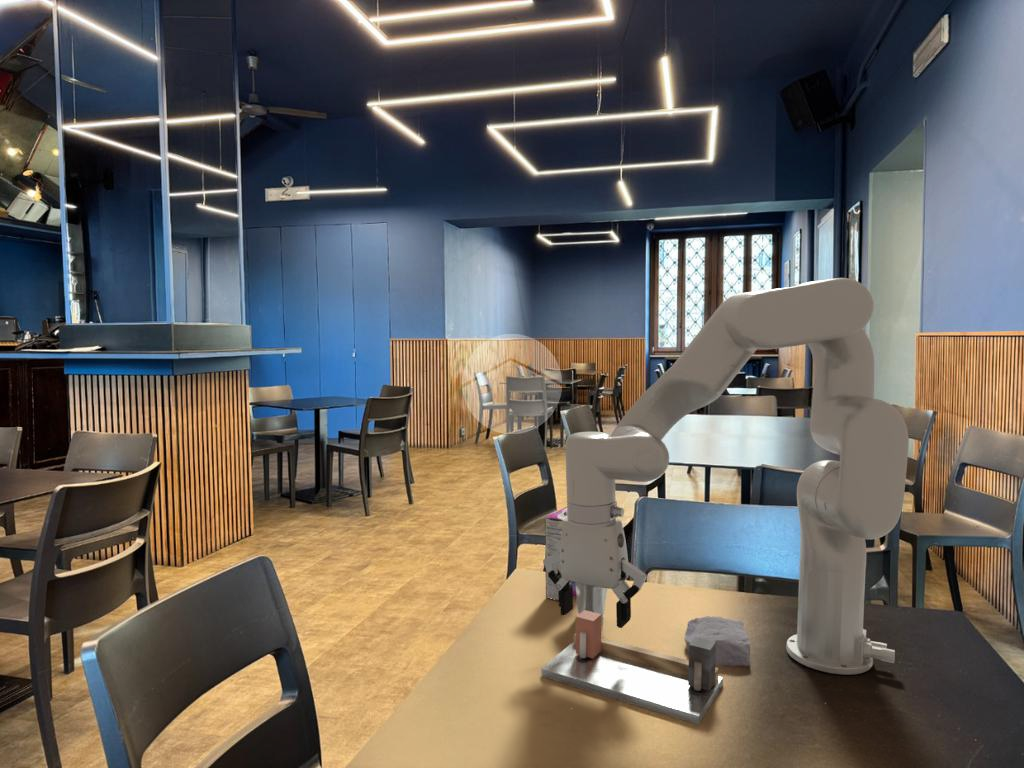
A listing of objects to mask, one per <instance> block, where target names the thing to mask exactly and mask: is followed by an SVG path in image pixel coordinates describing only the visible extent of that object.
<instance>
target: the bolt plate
mask: <svg viewBox="0 0 1024 768" xmlns="http://www.w3.org/2000/svg"><path fill="white" fill-rule="evenodd" d="M540 676H541V678H542V677H543V678H546V679H549V680H552V681H556V682H559V683H562V684H566V685H569V686H572V687H576V688H579V689H582V690H585V691H588V692H592V693H595V694H598V695H602V696H605V697H608V698H611V699H614V700H616V701H617V700H618V701H620V702H624V703H628V704H630V705H633V706H637V707H641V708H644V709H647V710H650V711H654V712H656V713H659V714H663V715H666V716H669V717H672V718H676V719H679V720H683V721H686V722H689V723H692V724H695V725H700V723H701V721H702V720H703V718H704V717H705V715H706V714H707V712H708V711H709V708H710V707H711V705H712V703H713V701H715V699H716V697H717V695H718V694H719V692H720V690H721V689H722V687H723V686H724V677H723V676H719V675H718V680H717V681H716V683H714V684H713V686H712V687H711V689H710V690H709V691H707V690H704V689H701V690H700V691H697V690H694V687H693V686H690V685H688V675H685V674H681V673H678V672H674V671H670V670H667V669H663V668H659V667H656V666H652V665H648V664H645V663H641V662H637V661H633V660H630V659H626V658H622V657H619V656H615V655H611V654H608V653H604V652H599V653H598V654H597V655H596V656H595V657H594V658H589V657H586V658H580V655H579V654H576V645H575V644H574V640H573V641H572V642H571V643H570V644H569V645H567V646H566V647H565V648H564V649H563V650H562V651H560V652H559V653H558V654H556V655H555V656H554V657H553V658H552V659H551V660H550V661H548V663H546V664H545V665H544V666H543V667H542V668H541V675H540Z"/></svg>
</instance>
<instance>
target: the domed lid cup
mask: <svg viewBox="0 0 1024 768" xmlns="http://www.w3.org/2000/svg"><path fill="white" fill-rule="evenodd" d="M564 516H567V512H564ZM575 591H576V596H575V598H576V608H577V609H576V611H577V613H578V615H579V614H580V613H581V612H583V611H584V610H586V611H590V612H595V613H599V614H602V621H603V620H604V614H605V610H606V609H605V608H606V601H607V595H608V588H601V587H596V586H590V585H585V584H580V583H575Z"/></svg>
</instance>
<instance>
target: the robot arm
mask: <svg viewBox="0 0 1024 768" xmlns="http://www.w3.org/2000/svg"><path fill="white" fill-rule="evenodd" d="M873 313H874V301H873V296H872V294H871V292H870V291H869V289H868V288H867V287H866V286H865V285H864V284H863V283H862V282H859V281H858V280H856V279H852V278H847V277H837V278H829V279H823V280H814V281H813V280H812V281H808V282H803V283H800V284H798V285H794V286H790V287H781V288H780V287H779V288H773V289H772V288H771V289H763V290H755V291H748V292H747V291H746V292H742V293H741V292H739V293H736V294H734V295H731V296H729V297H728V298H726V299H724V301H723V302H722V303H721V304H720V305H719V306H718V307H717V308H716V310H715V311H714V312H713V314H712V315H711V316H710V317H709V319H708V320H707V321H706V322H705V324H703V326H702V328H701V329H700V330H699V331H698V333H697V334H696V335H695V336H694V338H693V339H692V340H691V342H690V343H689V344H688V345H687V347H686V348H685V349H684V350H683V352H682V353H681V354H680V356H679V357H678V358H677V359H676V360H675V362H674V363H673V364H672V365H671V366H670V367H669V368H668V369H667V370H666V371H665V372H664V373H662V375H661V376H660V377H659V378H658V379H657V380H656V381H654V383H653V384H652V385H651V386H649V387H648V388H647V390H645V391H644V392H643V393H642V394H641V396H639V397H638V398H637V400H635V402H634V403H633V404H632V406H631V407H630V408H629V409H628V411H627V412H626V413H625V415H623V417H622V419H621V420H620V421H619V422H618V423H617V425H616V426H615V428H614V429H613V431H612V432H611V434H609V433H606V432H601V431H580V432H579V431H578V432H574V433H572V434H570V435H568V437H567V438H566V440H565V478H566V479H565V480H566V483H565V485H566V505H567V506H566V507H567V518H565V519H564V524H563V529H562V535H561V546H560V552H559V553H557V554H554V555H552V556H549V557H547V558H546V557H545V558H544V559H543V560H542V563H543V566H544V568H545V571H546V570H547V571H548V576H549V578H550V579H551V580H552V581H553V583H554V584H555V588H556V590H558V593H559V601H558V607H559V608H560V610H559V611H560V616H567V615H568V614H569V613H570V612H571V611H572V610H574V598H573V587H572V585H570V584H569V583H570V582H575V583H580V584H585V585H590V586H596V587H601V588H607V590H609V589H610V590H612V592H613V593H614V594H615V596H616V598H617V599H618V601H617V602H616V603H615V607H616V608H615V610H616V627H617V628H620V629H622V628H623V627H624V626H625V625H626V624H627V623H629V622H630V620H631V617H632V607H631V606H632V604H631V603H632V602H631V601H632V600H631V599H632V598H633V597H634V596H635V595H637V594H638V593H639V592H640V591H641V590H642V588H643V586H644V584H645V582H646V580H647V577H648V575H647V574H646V573H645V572H644V571H642V570H641V569H639V568H638V567H637V566H636V565H634V564H632V563H631V562H629V557H628V550H627V549H628V548H627V543H626V535H625V530H624V527H623V524H622V520H621V519H617V518H619V517H620V518H622V517H624V515H625V509H624V508H623V507H619V506H618V501H616V480H618V481H627V482H635V483H636V482H637V483H646V482H648V483H649V482H651V481H654V480H657V479H658V478H660V477H662V476H663V475H664V473H665V472H666V471H667V469H668V466H669V463H670V454H669V450H668V447H667V445H666V443H664V442H663V439H664V437H665V436H666V435H667V434H668V433H669V432H670V430H671V429H672V428H673V427H674V426H676V424H677V423H678V422H679V421H680V420H681V419H683V418H685V417H686V416H687V415H689V414H690V413H692V412H694V411H697V410H699V409H701V408H704V407H706V406H708V405H710V404H712V403H713V402H715V401H716V400H718V399H719V397H721V396H722V394H724V392H725V391H726V389H727V388H728V387H729V385H730V384H731V383H732V382H733V380H734V378H736V376H737V375H738V374H739V373H740V371H741V370H742V369H743V367H744V366H745V365H746V363H747V362H748V361H749V360H750V359H751V358H752V356H753V355H754V354H755V353H756V351H757V350H773V349H774V350H775V349H783V348H792V347H798V346H802V345H803V346H804V345H807V347H808V348H809V350H810V353H811V355H812V356H811V357H812V361H813V386H812V396H811V397H812V398H811V413H810V422H809V429H810V430H809V431H810V436H811V437H812V440H813V441H814V443H816V444H817V446H819V447H821V448H822V449H824V450H825V451H827V452H830V453H832V454H836V455H838V456H839V461H838V460H831V459H830V460H829V459H827V460H826V459H825V460H819V461H816V462H814V463H812V464H809V466H807V467H806V468H805V469H804V471H803V472H802V473H801V474H800V476H799V479H798V482H797V484H796V485H797V486H796V502H797V511H798V518H799V529H800V530H799V533H800V534H799V535H800V536H799V537H800V540H799V541H800V542H799V544H800V546H799V567H798V568H799V569H798V570H799V571H798V572H799V573H798V593H797V594H798V595H797V597H798V598H797V599H798V601H797V623H796V624H797V625H796V631H797V632H796V634H793V635H792V636H790V637H788V639H786V646H785V649H786V652H787V654H788V655H789V656H790V658H792V659H793V660H795V661H797V662H798V663H799V664H801V665H803V666H804V667H808V668H810V669H813V670H816V671H820V672H824V673H827V674H834V675H847V676H848V675H859V674H863V673H865V672H867V671H869V670H870V669H871V668H872V667H873V664H874V659H876V660H880V661H883V662H886V663H887V662H888V663H890V664H891V663H892V664H894V663H895V655H896V650H895V649H891V648H887V647H888V643H886V642H879V641H873V640H871V638H869V637H867V629H864V613H865V612H864V610H865V591H866V587H865V586H866V585H865V584H866V568H867V544H866V540H875V539H879V538H883V537H884V536H887V535H888V534H889V533H890V532H891V531H892V530H893V529H894V528H895V527H896V525H897V524H898V523H899V520H900V517H901V514H902V511H903V507H904V500H905V490H906V480H907V469H908V460H909V459H908V457H909V456H908V455H909V443H910V442H909V432H908V431H909V430H908V427H907V424H906V422H905V419H904V417H903V415H902V414H901V413H900V411H899V410H898V409H897V408H896V407H895V406H893V405H892V404H890V403H889V402H886V401H884V400H883V399H879V398H875V357H874V350H873V347H872V344H871V341H870V338H869V337H868V334H867V333H866V331H865V329H864V328H865V327H866V326H867V324H868V323H869V322H870V321H871V318H872V316H873ZM559 561H560V571H561V573H560V571H559V570H558V569H557V568H556V565H555V563H557V562H559ZM629 577H631V578H632V579H633V582H632V585H631V586H629V584H628V583H627V581H626V580H628V578H629Z"/></svg>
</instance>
